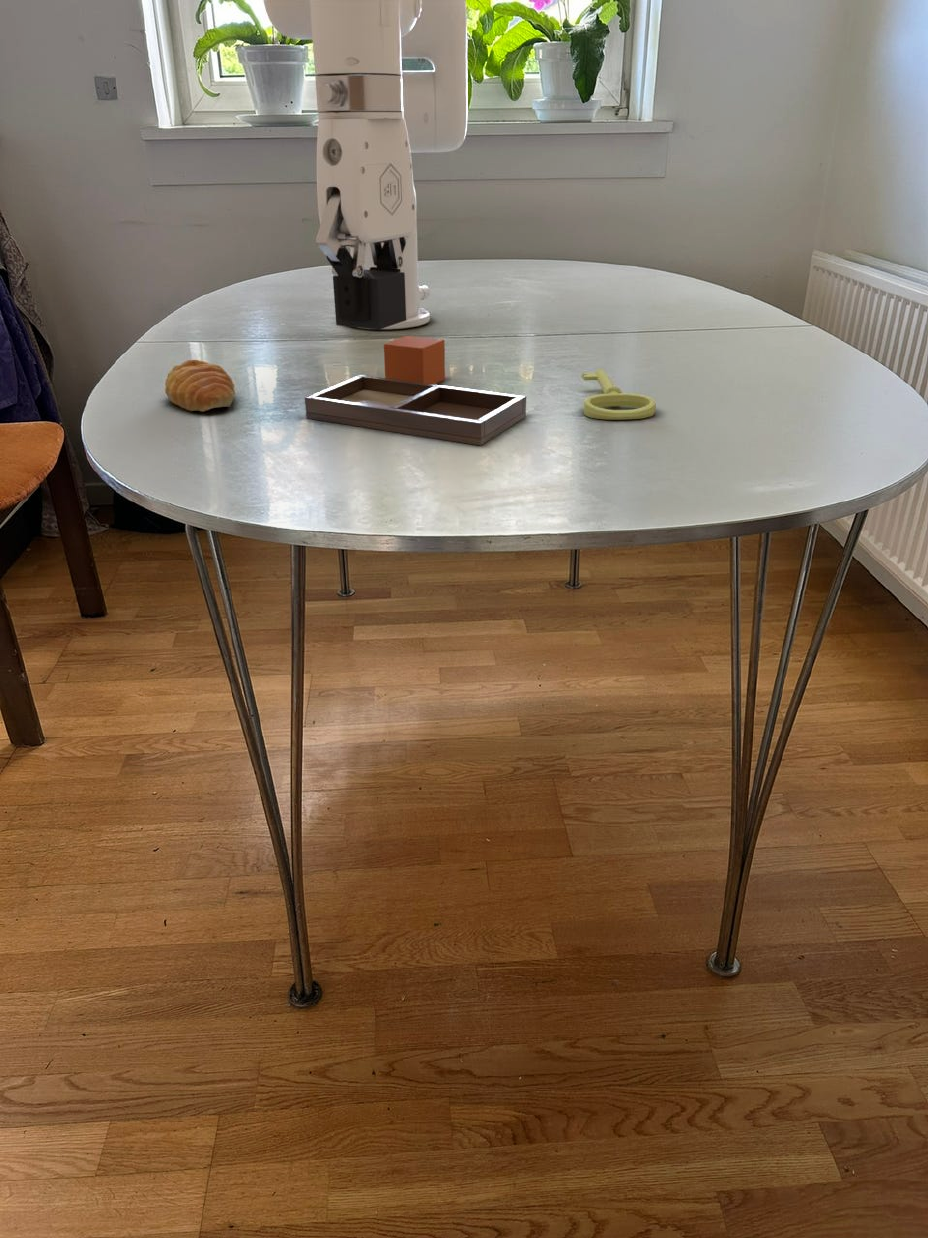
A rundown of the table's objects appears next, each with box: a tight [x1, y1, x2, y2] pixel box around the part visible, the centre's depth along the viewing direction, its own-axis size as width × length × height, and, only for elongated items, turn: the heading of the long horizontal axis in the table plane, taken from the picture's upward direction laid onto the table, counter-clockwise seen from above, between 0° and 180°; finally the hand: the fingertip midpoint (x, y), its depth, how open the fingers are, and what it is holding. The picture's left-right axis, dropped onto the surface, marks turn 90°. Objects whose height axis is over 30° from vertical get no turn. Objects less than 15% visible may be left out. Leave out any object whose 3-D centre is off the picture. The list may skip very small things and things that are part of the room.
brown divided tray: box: [304, 374, 527, 446], centre depth 91 cm, size 10×20×2 cm, turn 63°
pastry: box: [164, 359, 236, 413], centre depth 96 cm, size 9×7×4 cm
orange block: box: [383, 335, 446, 385], centre depth 103 cm, size 5×5×4 cm
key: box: [581, 368, 657, 421], centre depth 95 cm, size 7×12×2 cm, turn 23°
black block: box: [332, 270, 406, 330], centre depth 88 cm, size 5×5×4 cm
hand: (371, 313), depth 89 cm, fingers closed on black block, 5 cm apart
